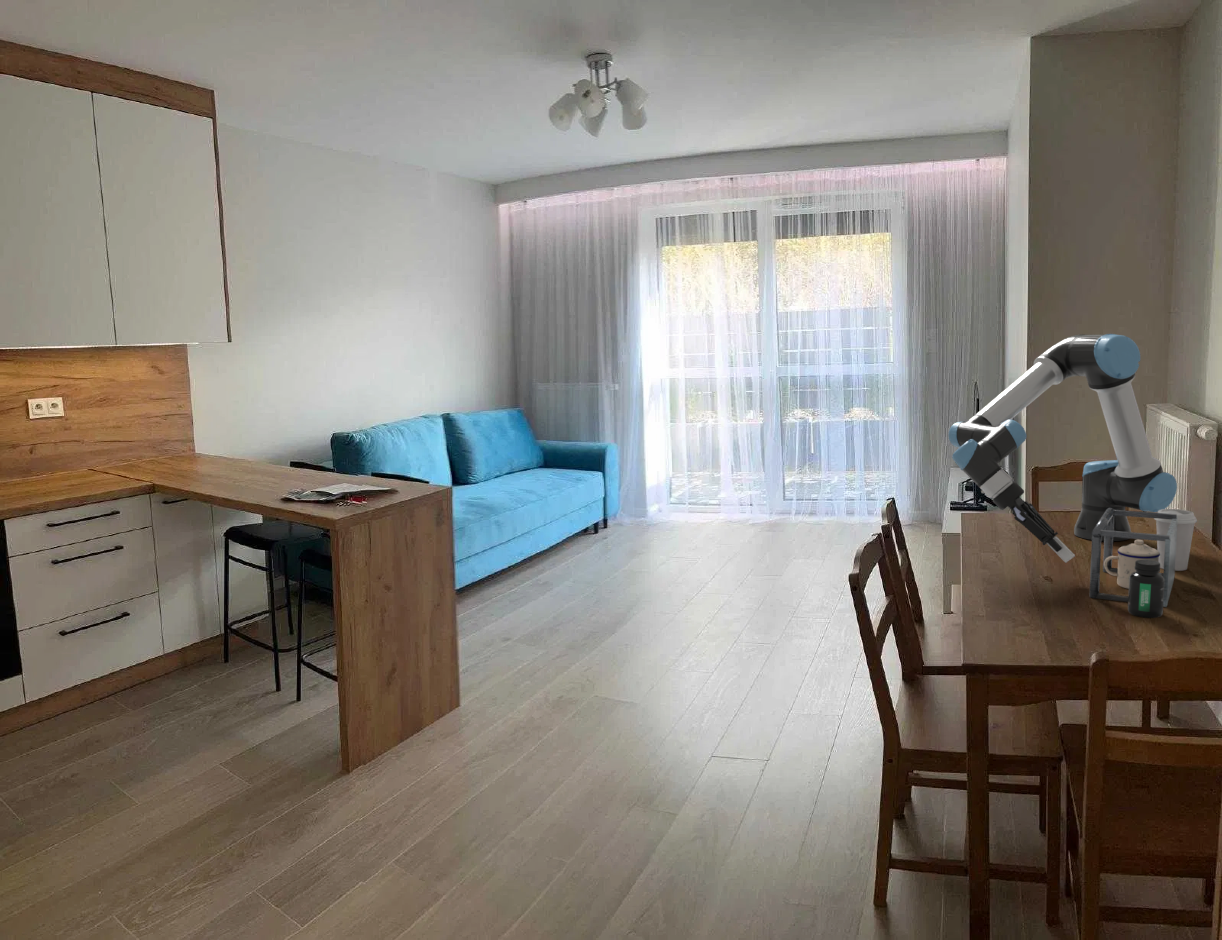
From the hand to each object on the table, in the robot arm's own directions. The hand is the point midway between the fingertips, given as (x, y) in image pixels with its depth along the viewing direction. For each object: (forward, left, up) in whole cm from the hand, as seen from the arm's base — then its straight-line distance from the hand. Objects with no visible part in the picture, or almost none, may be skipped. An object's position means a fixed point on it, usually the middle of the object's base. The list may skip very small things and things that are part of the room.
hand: (1070, 559), depth 231 cm
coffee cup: (-24, +21, -6) cm, 33 cm away
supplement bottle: (+20, +18, -6) cm, 28 cm away
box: (0, +14, -6) cm, 15 cm away
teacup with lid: (-2, +13, -6) cm, 15 cm away
